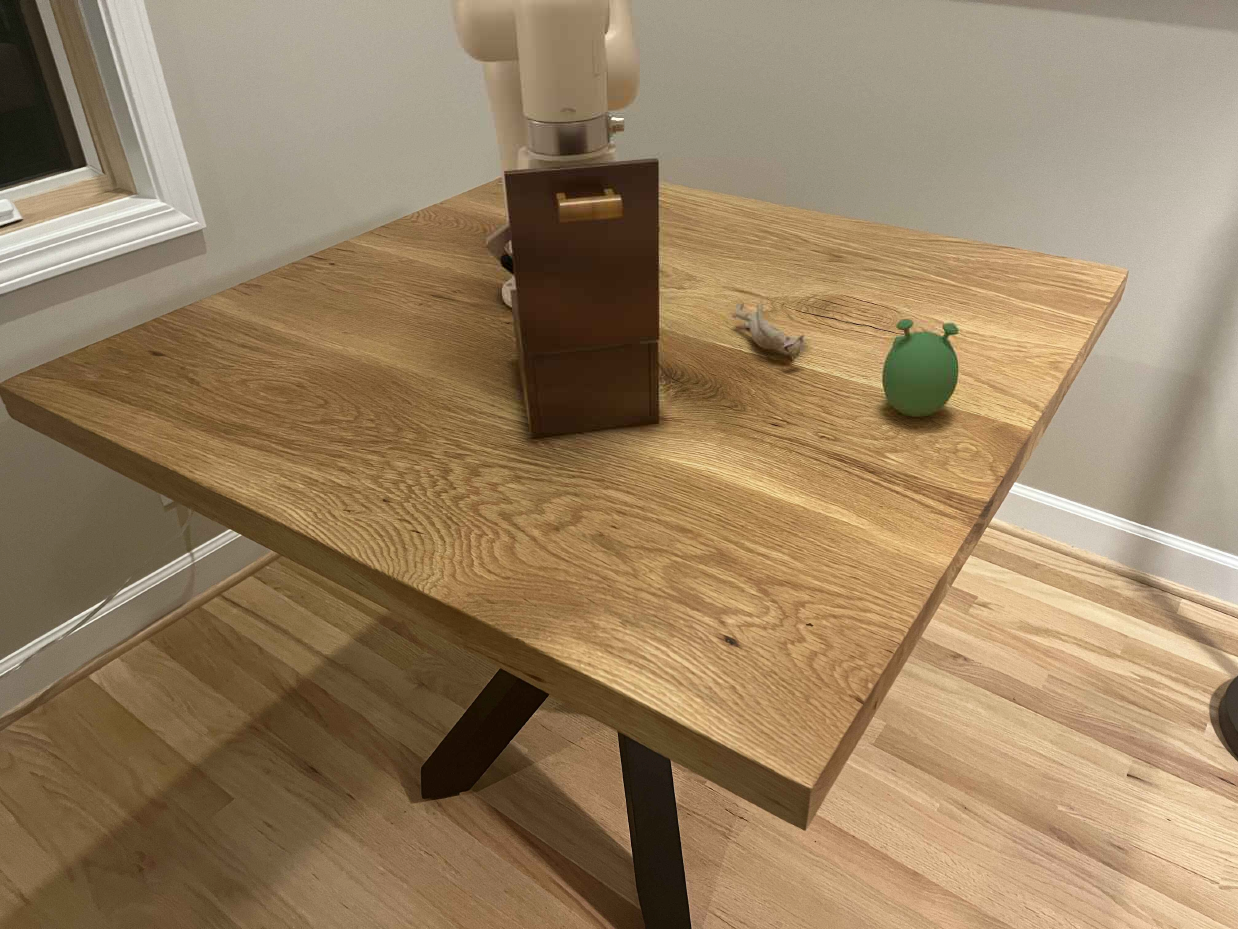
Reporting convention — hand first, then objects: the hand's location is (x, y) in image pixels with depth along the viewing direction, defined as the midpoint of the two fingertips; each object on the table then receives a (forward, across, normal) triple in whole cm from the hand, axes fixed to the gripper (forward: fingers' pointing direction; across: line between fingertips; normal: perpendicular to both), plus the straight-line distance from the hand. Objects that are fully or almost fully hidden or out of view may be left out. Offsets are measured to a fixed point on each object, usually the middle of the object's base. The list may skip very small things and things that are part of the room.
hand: (578, 309), depth 91 cm
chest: (+9, 0, +1) cm, 9 cm away
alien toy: (+9, -32, +12) cm, 35 cm away
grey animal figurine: (+9, -22, -4) cm, 24 cm away
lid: (-9, 0, +9) cm, 12 cm away
